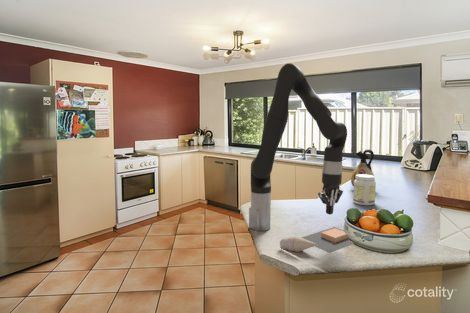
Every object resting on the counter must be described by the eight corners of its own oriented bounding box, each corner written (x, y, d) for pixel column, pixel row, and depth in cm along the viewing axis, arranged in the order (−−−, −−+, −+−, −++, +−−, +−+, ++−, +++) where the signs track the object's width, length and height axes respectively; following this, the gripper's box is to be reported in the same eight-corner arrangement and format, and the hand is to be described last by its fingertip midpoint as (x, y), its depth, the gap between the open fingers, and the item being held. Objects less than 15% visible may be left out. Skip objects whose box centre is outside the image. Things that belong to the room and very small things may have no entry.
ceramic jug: (348, 191, 207) (350, 149, 203) (353, 187, 219) (355, 147, 216) (374, 195, 197) (377, 150, 193) (378, 190, 210) (380, 149, 206)
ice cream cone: (319, 256, 107) (281, 254, 115) (321, 241, 111) (284, 240, 119) (315, 248, 104) (276, 246, 111) (317, 232, 108) (279, 232, 115)
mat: (329, 254, 110) (329, 252, 109) (298, 239, 123) (298, 238, 123) (366, 239, 123) (366, 238, 123) (334, 228, 136) (334, 227, 136)
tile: (335, 238, 118) (348, 233, 123) (321, 232, 124) (334, 228, 129) (334, 242, 118) (348, 238, 123) (321, 237, 124) (334, 232, 129)
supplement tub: (370, 200, 183) (372, 174, 181) (377, 206, 171) (379, 177, 169) (350, 200, 184) (351, 173, 182) (356, 205, 172) (357, 177, 170)
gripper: (328, 174, 111) (325, 219, 113) (350, 172, 118) (347, 213, 120) (313, 171, 117) (311, 213, 119) (335, 169, 124) (332, 209, 126)
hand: (329, 213), depth 120 cm, fingers closed
